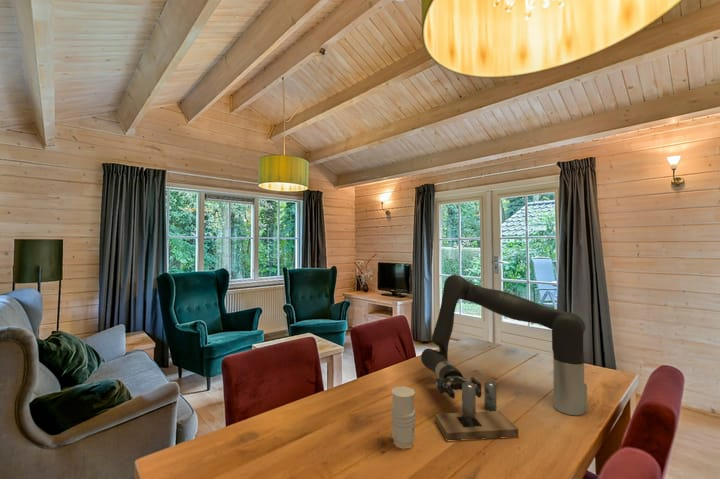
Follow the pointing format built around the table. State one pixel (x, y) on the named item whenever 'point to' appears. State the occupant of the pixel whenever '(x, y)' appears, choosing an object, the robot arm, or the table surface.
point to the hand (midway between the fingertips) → (466, 395)
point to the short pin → (490, 395)
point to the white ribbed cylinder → (403, 416)
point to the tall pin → (468, 404)
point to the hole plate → (486, 422)
